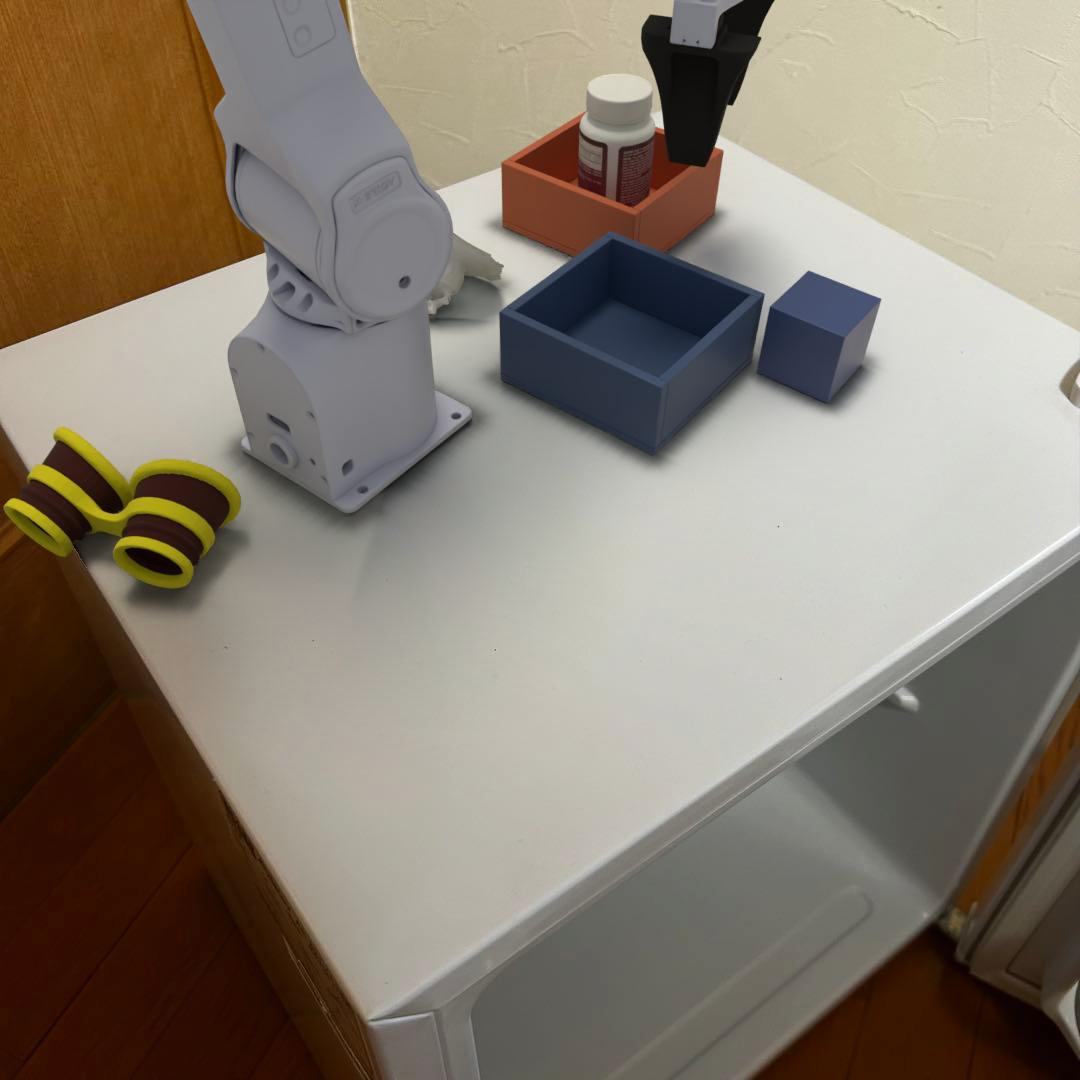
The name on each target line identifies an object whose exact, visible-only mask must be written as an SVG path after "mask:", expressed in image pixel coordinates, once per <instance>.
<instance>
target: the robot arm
mask: <svg viewBox="0 0 1080 1080" xmlns="http://www.w3.org/2000/svg"><path fill="white" fill-rule="evenodd" d="M775 1H776V0H673V5H672V6H673V7H672V16H667V15H659V14H652V13H651V14H649V15H648V17H647V18H646V20H645V21H644V23H643V24H642V26H641V31H640V42H641V43H640V44H641V48H642V52H643V54H644V56H645V58H646V59H647V62H648V65H649V66H650V69H651V71H652V74H653V77H654V81H655V84H656V87H657V90H658V95H659V100H660V108H661V116H662V123H663V129H664V134H665V143H666V149H667V154H668V159H669V161H670V162H673V163H679V164H685V165H691V166H698V167H706V165H707V163H708V161H709V159H710V157H711V154H712V152H713V150H714V147H716V145H717V141H718V138H719V135H720V132H721V128H722V125H723V121H724V118H725V115H726V111H727V107H728V106H730V107H733V106H734V105H735V102H736V100H737V98H738V95H739V94H740V91H741V88H742V86H743V83H744V81H745V77H746V74H747V72H748V68H749V65H750V62H751V60H752V59H753V57H754V55H755V54H756V52H757V50H758V48H759V46H760V44H761V41H762V37H761V36H759V34H760V32H761V29H762V27H763V24H764V22H765V20H766V18H767V15H768V13H769V11H770V9H771V8H772V6H773V5H774V3H775ZM186 3H187V5H188V8H189V10H190V13H191V15H192V17H193V19H194V22H195V24H196V27H197V29H198V31H199V33H200V37H201V38H202V41H203V43H204V45H205V48H206V50H207V53H208V55H209V58H210V59H211V61H212V64H213V67H214V69H215V72H216V73H217V76H218V78H219V81H220V83H221V86H222V88H223V90H224V92H225V94H224V95H223V97H222V99H220V101H219V102H218V103H217V105H216V107H215V108H214V111H213V118H214V120H215V122H216V124H217V126H218V129H219V131H220V133H221V138H222V140H223V143H224V148H225V154H226V163H225V181H224V182H225V189H226V195H227V198H228V202H229V204H230V206H231V209H232V211H233V212H234V215H236V217H237V218H238V220H239V222H241V223H242V225H244V226H245V227H246V228H247V229H248V230H249V231H250V232H252V233H254V234H256V235H258V236H260V237H262V238H263V239H262V243H263V248H264V253H265V257H266V269H265V270H266V271H265V272H266V282H267V287H268V291H267V294H266V297H265V299H264V302H263V304H262V305H261V307H260V308H259V310H258V312H257V313H256V315H255V316H254V318H253V319H251V321H250V322H249V323H248V324H247V325H246V326H245V327H244V328H243V329H242V330H241V331H239V332H238V333H237V334H236V335H235V336H234V337H233V338H232V339H231V341H229V342H230V343H229V345H228V348H227V363H228V369H229V373H230V376H231V380H232V384H233V388H234V392H235V395H236V400H237V404H238V407H239V411H240V414H241V418H242V422H243V426H244V430H245V434H246V435H245V436H244V437H243V438H242V439H241V441H240V445H241V449H242V451H243V452H244V453H247V455H249V456H251V457H253V458H254V459H256V460H258V461H259V462H261V463H262V464H264V465H266V466H267V467H269V468H270V469H272V470H274V471H275V472H277V473H278V474H280V475H281V476H284V478H287V479H288V480H290V481H291V482H293V483H295V484H297V485H298V486H300V487H301V488H302V489H304V490H306V491H307V492H310V493H311V494H312V495H313V496H315V497H317V498H319V499H321V500H322V501H323V502H326V504H329V505H330V506H331V507H333V508H335V509H337V510H338V511H340V512H341V513H344V514H351V513H355V512H356V511H358V510H359V509H361V508H362V507H363V506H364V505H365V504H367V503H368V502H369V501H371V500H372V499H373V498H374V497H376V496H377V495H378V494H379V493H380V492H382V491H384V490H385V488H387V487H388V486H389V485H391V484H392V483H393V482H394V481H395V480H397V479H398V478H399V477H401V476H402V475H403V474H404V473H406V472H407V471H408V470H409V469H411V468H412V467H413V466H414V465H416V464H417V463H419V461H421V460H422V459H423V458H424V457H425V456H427V455H428V454H429V453H431V452H432V451H433V450H434V449H436V448H437V447H438V446H440V445H441V444H442V443H443V442H444V441H446V440H447V439H448V438H450V437H451V436H452V435H453V434H454V433H456V432H457V431H458V430H459V429H461V428H462V427H463V426H464V425H465V424H467V423H469V421H471V419H472V418H473V411H472V408H470V407H469V406H467V405H466V404H464V403H461V402H460V401H458V400H456V399H454V398H452V397H450V396H448V395H446V394H445V393H443V392H441V391H439V390H437V389H436V387H435V386H436V385H435V376H434V364H433V353H432V351H433V350H432V340H431V339H432V338H431V326H430V316H429V315H430V314H428V302H427V301H428V300H430V299H431V292H432V291H433V290H434V288H435V287H436V286H437V284H438V282H439V281H440V279H441V278H442V276H443V274H444V272H445V269H446V267H447V265H448V262H449V259H450V256H451V251H452V246H453V233H454V224H453V221H452V216H451V212H450V210H449V208H448V205H447V204H446V202H445V201H444V199H443V197H441V195H440V194H439V193H438V192H437V191H436V190H435V189H434V188H432V187H431V186H430V185H429V184H428V183H427V182H426V181H425V180H424V178H423V177H422V176H421V174H420V172H419V171H418V168H417V165H416V162H415V159H414V156H413V152H412V148H411V145H410V143H409V141H408V139H407V138H406V136H405V135H404V134H403V131H402V130H401V129H400V127H399V126H398V125H397V123H396V122H395V120H394V118H392V116H391V114H390V113H389V111H388V110H387V109H386V107H385V106H384V105H383V103H382V101H381V100H380V99H379V97H378V96H377V95H376V93H375V92H374V90H373V89H372V88H371V86H370V84H369V83H368V81H367V80H366V78H365V77H364V75H363V73H362V70H361V67H360V64H359V61H358V57H357V54H356V51H355V48H354V45H353V42H352V38H351V34H350V32H349V31H350V30H349V28H348V25H347V22H346V18H345V14H344V11H343V9H342V5H341V2H340V0H186Z"/></svg>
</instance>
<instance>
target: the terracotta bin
mask: <svg viewBox="0 0 1080 1080" xmlns="http://www.w3.org/2000/svg"><path fill="white" fill-rule="evenodd" d="M586 112H587V110H585V111H583V112H582V113H580V114H578V115H577V116H575V117H574V118H572V119H570V120H569V121H567V122H565V123H563V124H562V125H560V126H559V127H557V128H556V129H553V130H552V131H550V132H549V133H547V134H546V135H543V136H542V137H541V138H539V139H537V140H536V141H534V142H533V143H531V144H529V145H527V146H526V147H524V148H522V149H521V150H519V151H518V152H516V153H514V154H512V155H511V156H509V157H507V158H506V159H505V160H503V161H501V164H500V166H501V167H500V168H501V170H500V171H501V217H502V218H501V219H502V220H501V222H502V223H501V226H502V227H503V228H505V229H508V230H510V231H513V232H514V233H518V234H519V235H522V236H524V237H527V238H529V239H532V240H534V241H536V242H538V243H540V244H543V245H545V246H548V247H549V248H553V249H554V250H557V251H559V252H562V253H564V254H567V255H569V256H571V257H572V258H574V257H575V256H576V255H578V254H579V253H580V252H582V251H583V250H585V249H586V248H587V247H589V246H590V245H591V244H593V243H594V242H596V241H597V240H598V239H600V238H601V237H602V236H604V235H605V234H607V233H608V232H609V231H612V232H614V233H617V234H619V235H622V236H624V237H627V238H629V239H632V240H634V241H637V242H639V243H641V244H644V245H646V246H649V247H651V248H654V249H656V250H659V251H661V252H664V253H667V252H668V251H669V250H670V249H672V248H673V247H674V246H676V244H678V243H679V242H681V241H682V240H683V239H684V238H686V237H687V236H689V234H690V233H692V232H693V231H695V230H696V229H697V228H698V227H700V226H701V225H702V224H703V223H705V222H706V221H707V220H708V219H710V218H711V217H712V216H714V215H715V213H716V206H717V200H718V192H719V186H720V180H721V173H722V166H723V159H724V152H725V151H724V149H721V148H718V147H716V146H715V147H714V150H713V152H712V154H711V157H710V159H709V161H708V163H707V165H706V167H698V166H691V165H685V164H679V163H673V162H670V161H669V159H668V154H667V149H666V143H665V134H664V128H662V127H658V126H655V139H654V149H653V162H652V172H651V183H650V195H649V197H647V198H646V199H644V200H643V201H642V202H640V203H639V204H638V205H636V206H635V207H633V208H631V207H628V206H626V205H623V204H621V203H618V202H615V201H613V200H610V199H608V198H605V197H603V196H600V195H598V194H595V193H592V192H590V191H587V190H585V189H582V188H580V187H578V164H579V126H580V122H581V119H582V117H583V116H584V114H585V113H586Z"/></svg>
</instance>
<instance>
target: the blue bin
mask: <svg viewBox="0 0 1080 1080" xmlns="http://www.w3.org/2000/svg"><path fill="white" fill-rule="evenodd" d="M765 297H766V294H765V292H762V291H760V290H757V289H755V288H752V287H750V286H747V285H745V284H744V283H743V284H742V283H740V282H738V281H735V280H733V279H730V278H729V277H725V276H722V275H720V274H718V273H716V272H713V271H710V270H708V269H705V268H703V267H701V266H698V265H696V264H693V263H691V262H688V261H686V260H684V259H681V258H678V257H676V256H673V255H671V254H669V253H667V252H665V253H664V252H661V251H659V250H656V249H654V248H651V247H649V246H646V245H644V244H641V243H639V242H637V241H634V240H632V239H629V238H627V237H624V236H622V235H619V234H617V233H614V232H612V231H609V232H608V233H607V234H605V235H604V236H602V237H601V238H600V239H598V240H597V241H596V242H594V243H593V244H591V245H590V246H589V247H587V248H586V249H585V250H583V251H582V252H580V253H579V254H578V255H576V256H575V257H572V258H571V259H569V260H568V261H566V262H565V263H564V264H562V265H561V266H560V267H558V268H557V269H556V270H554V271H552V272H551V273H550V274H549V275H547V276H546V277H545V278H543V279H542V280H540V281H539V282H538V283H536V284H535V285H533V286H532V287H531V288H530V289H528V290H527V291H525V292H524V293H523V294H521V295H520V296H518V297H517V298H515V300H513V301H512V302H510V303H509V304H508V305H506V306H505V307H504V308H502V309H501V310H499V312H498V319H499V320H498V321H499V322H498V324H499V362H500V366H499V367H500V380H502V381H504V382H506V383H508V384H510V385H512V386H513V387H516V388H518V389H520V390H522V391H524V392H526V393H527V394H530V395H532V396H534V397H536V398H537V399H539V400H542V401H543V402H545V403H548V404H550V405H551V406H554V407H555V408H557V409H559V410H561V411H563V412H566V413H567V414H570V415H571V416H573V417H575V418H577V419H580V420H581V421H584V422H585V423H587V424H589V425H591V426H593V427H595V428H597V429H599V430H601V431H604V433H607V434H609V435H611V436H613V437H615V438H617V439H619V440H621V441H622V442H625V443H627V444H629V445H631V446H632V447H635V448H637V449H638V450H640V451H643V452H644V453H647V454H649V455H650V456H655V455H656V454H657V453H659V451H660V450H661V449H662V448H664V446H665V445H666V444H668V442H670V441H671V440H672V438H674V437H675V436H676V435H677V434H678V433H679V432H680V431H681V430H682V429H683V428H684V427H685V426H686V425H687V424H689V422H690V421H691V420H692V419H693V418H695V416H696V415H697V414H698V413H700V411H701V410H702V409H703V408H705V406H707V405H708V404H709V403H710V402H711V401H712V400H713V399H714V398H715V397H716V396H717V395H718V394H719V393H720V392H721V391H722V390H724V388H725V387H726V386H727V385H729V384H730V383H731V381H732V380H733V379H734V378H736V376H737V375H739V374H740V373H741V372H742V370H743V369H745V368H746V367H747V366H748V365H749V364H750V363H751V362H752V361H753V356H754V351H755V346H756V340H757V336H758V333H759V332H758V331H759V325H760V322H761V315H762V310H763V306H764V300H765Z"/></svg>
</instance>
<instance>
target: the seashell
mask: <svg viewBox="0 0 1080 1080" xmlns="http://www.w3.org/2000/svg"><path fill="white" fill-rule="evenodd" d="M504 268H505V266H504V264H502V263H500V262H499V261H496V260H495V259H494V258H493V257H492V254H491V253H489V252H487V251H485V250H483V249H481V248H479V247H477V246H475V245H474V244H471V243H470V242H468V241H467V240H465V239H464V238H462V237H460V235H458V234H456V233H455V232H453V246H452V251H451V256H450V259H449V262H448V265H447V267H446V269H445V272H444V274H443V276H442V278H441V279H440V281H439V282H438V284H437V286H436V287H435V288H434V290H433V291H432V292H431V299H430V300H428V301H427V302H428V314H429V315H430V314H431V315H435V314H436V313H437V311H438V309H439V308H442V307H443V306H448V305H449V304H450V302H451V301H452V295H456V294H458V293H459V291H460V290H461V288H462V285H463V283H464V281H465V280H464V279H465V276H466V277H474V278H475V277H477V278H482V279H485V280H487V281H489V282H494V281H501V280H502V278H501V274H502V272H503V270H504Z"/></svg>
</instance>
